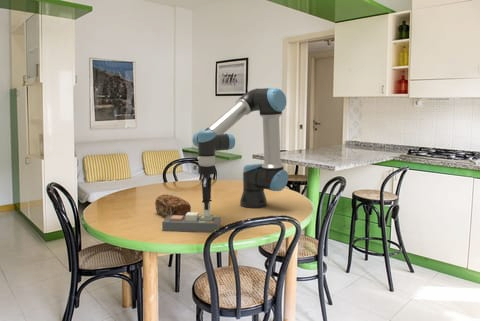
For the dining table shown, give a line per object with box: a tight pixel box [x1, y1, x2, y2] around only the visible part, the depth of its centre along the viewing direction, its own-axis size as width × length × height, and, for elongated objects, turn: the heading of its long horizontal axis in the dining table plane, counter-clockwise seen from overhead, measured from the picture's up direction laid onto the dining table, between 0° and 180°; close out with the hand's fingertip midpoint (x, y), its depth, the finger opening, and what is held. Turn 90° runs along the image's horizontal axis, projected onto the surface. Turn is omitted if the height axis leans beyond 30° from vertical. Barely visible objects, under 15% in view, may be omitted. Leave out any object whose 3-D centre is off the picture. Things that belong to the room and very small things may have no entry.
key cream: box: [185, 211, 199, 221], centre depth 185 cm, size 5×5×4 cm
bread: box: [154, 194, 192, 219], centre depth 205 cm, size 19×11×10 cm, turn 40°
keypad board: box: [161, 215, 222, 233], centre depth 186 cm, size 25×11×4 cm, turn 85°
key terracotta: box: [170, 215, 184, 221], centre depth 186 cm, size 5×5×4 cm
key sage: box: [201, 214, 214, 222], centre depth 185 cm, size 5×5×4 cm
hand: (206, 215), depth 185 cm, fingers closed
